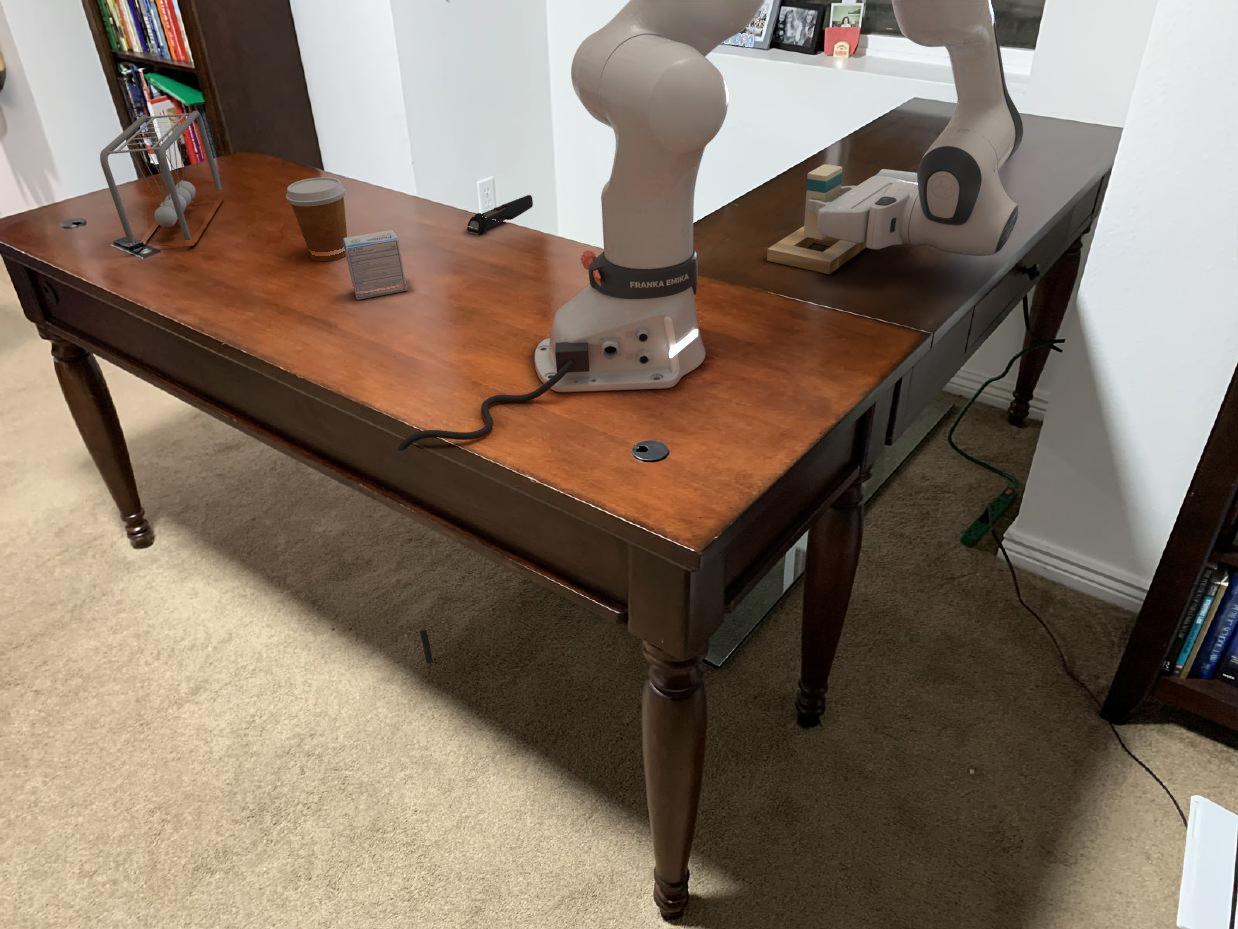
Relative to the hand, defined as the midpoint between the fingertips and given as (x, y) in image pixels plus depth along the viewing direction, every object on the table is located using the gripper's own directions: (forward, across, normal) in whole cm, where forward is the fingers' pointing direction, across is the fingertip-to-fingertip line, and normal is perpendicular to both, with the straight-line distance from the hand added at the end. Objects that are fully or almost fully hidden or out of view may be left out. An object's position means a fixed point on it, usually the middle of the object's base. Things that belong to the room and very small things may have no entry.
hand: (817, 197), depth 145 cm
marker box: (-1, 0, +6) cm, 6 cm away
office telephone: (-3, -33, +9) cm, 34 cm away
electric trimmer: (+55, +15, +9) cm, 58 cm away
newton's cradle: (+108, +48, +9) cm, 118 cm away
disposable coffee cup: (+70, +43, +9) cm, 82 cm away
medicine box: (+50, +49, +9) cm, 70 cm away
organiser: (-1, 0, +9) cm, 9 cm away
